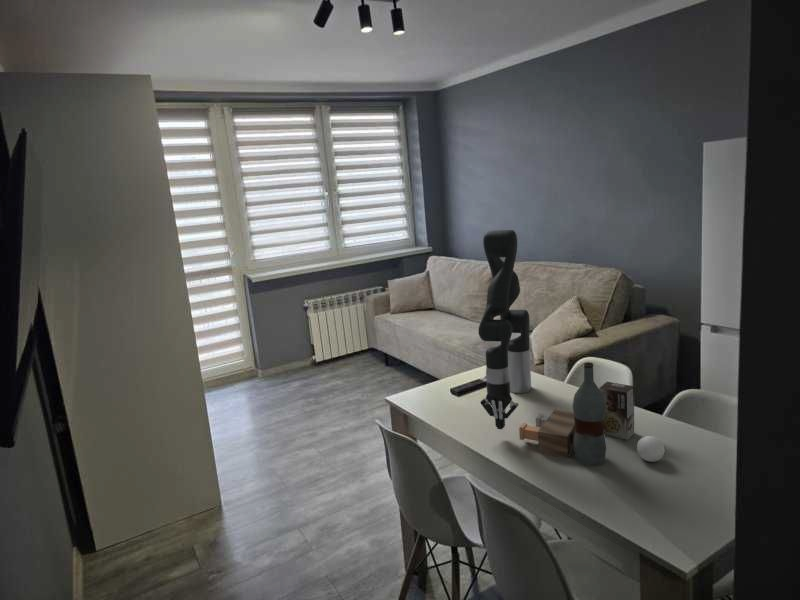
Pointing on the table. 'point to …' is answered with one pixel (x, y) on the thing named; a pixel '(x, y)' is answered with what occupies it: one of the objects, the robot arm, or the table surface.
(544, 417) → the grey plug
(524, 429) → the rust plug
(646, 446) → the white egg
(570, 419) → the socket block
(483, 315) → the robot arm
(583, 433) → the bottle
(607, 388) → the coffee box
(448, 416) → the table surface
